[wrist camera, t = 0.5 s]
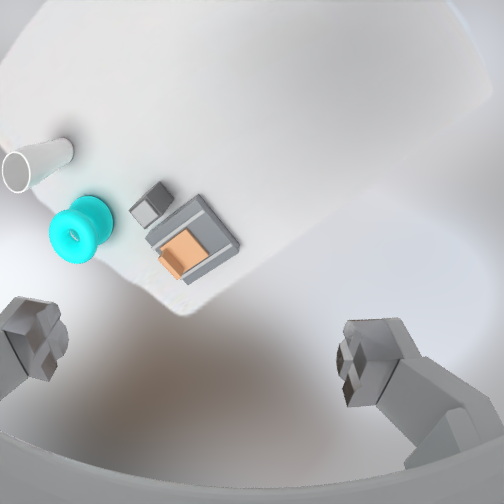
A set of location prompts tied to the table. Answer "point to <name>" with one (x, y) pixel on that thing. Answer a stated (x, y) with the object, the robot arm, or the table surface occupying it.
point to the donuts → (81, 229)
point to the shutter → (181, 253)
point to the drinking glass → (35, 163)
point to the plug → (151, 205)
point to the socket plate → (197, 236)
